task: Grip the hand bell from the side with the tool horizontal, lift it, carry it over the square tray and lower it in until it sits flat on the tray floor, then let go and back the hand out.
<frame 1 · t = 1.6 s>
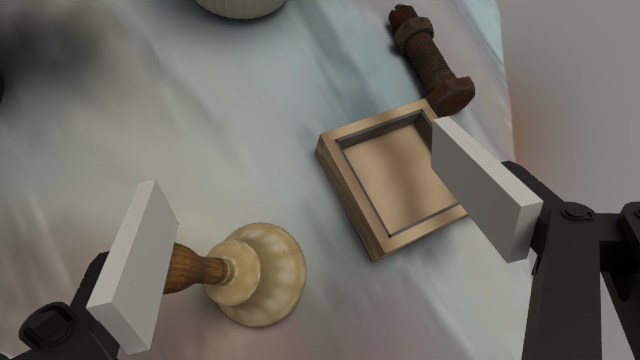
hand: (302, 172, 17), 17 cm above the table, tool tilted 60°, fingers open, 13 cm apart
bolt: (417, 69, 45), on the table
square tray: (394, 182, 37), on the table
hand bell: (258, 273, 30), point 1 cm above the table, touching gripper
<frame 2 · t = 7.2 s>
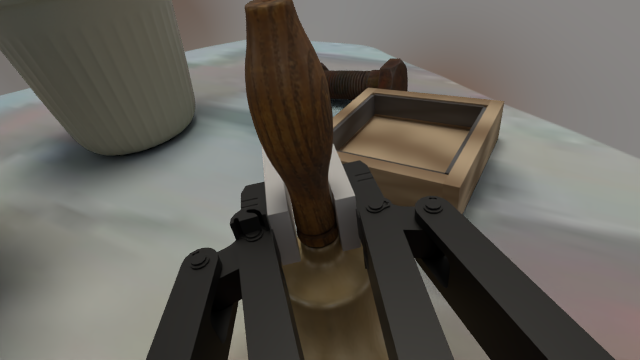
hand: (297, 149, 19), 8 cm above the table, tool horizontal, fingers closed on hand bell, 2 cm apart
bolt: (340, 104, 43), on the table
canister: (146, 134, 44), on the table
square tray: (402, 161, 31), on the table
hand bell: (338, 327, 19), on the table, touching gripper
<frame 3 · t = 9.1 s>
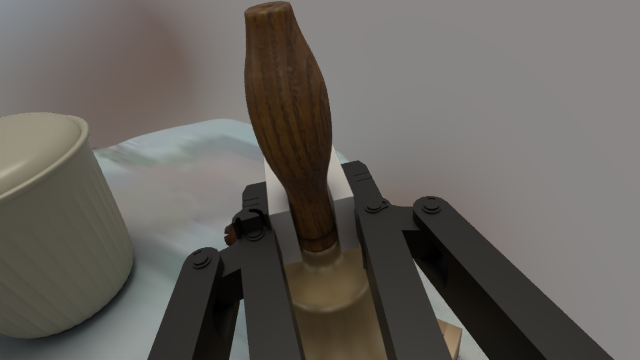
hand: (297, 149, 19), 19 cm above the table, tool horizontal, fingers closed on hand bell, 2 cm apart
canister: (78, 290, 39), on the table
hand bell: (337, 330, 19), point 11 cm above the table, touching gripper
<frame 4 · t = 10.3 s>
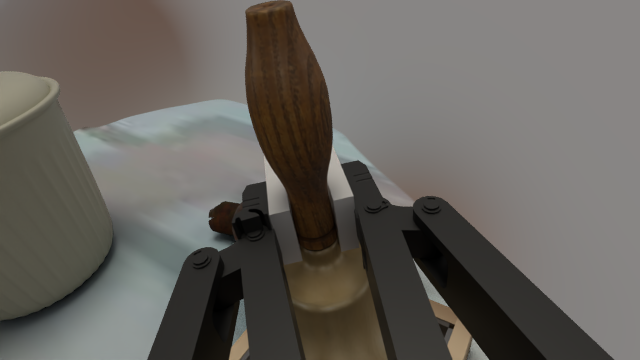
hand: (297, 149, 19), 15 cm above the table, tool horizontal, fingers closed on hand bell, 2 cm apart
bolt: (286, 245, 35), on the table
canister: (52, 270, 36), on the table
hand bell: (337, 330, 19), point 7 cm above the table, touching gripper
when the fingers open (10 cm above the table, at t = 11.4 s): hand bell drops 1 cm, resting on square tray.
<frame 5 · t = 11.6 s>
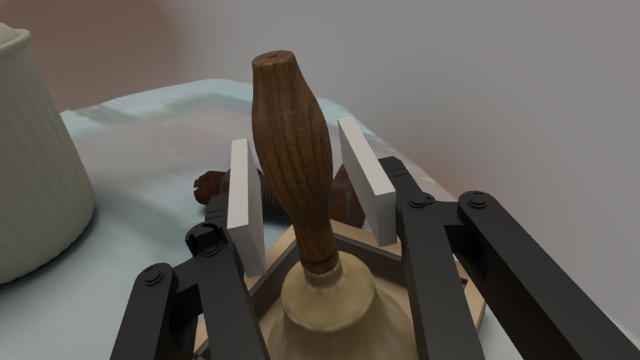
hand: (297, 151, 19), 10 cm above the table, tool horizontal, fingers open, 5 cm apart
bolt: (280, 215, 32), on the table
canister: (29, 243, 33), on the table
square tray: (341, 352, 20), on the table
hand bell: (340, 346, 20), point 1 cm above the table, touching square tray
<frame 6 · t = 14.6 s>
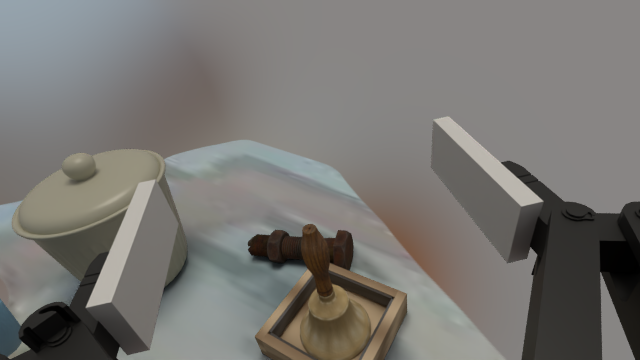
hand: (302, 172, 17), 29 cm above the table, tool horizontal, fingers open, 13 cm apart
bolt: (301, 259, 53), on the table
canister: (148, 272, 55), on the table
square tray: (335, 332, 42), on the table
hand bell: (335, 329, 41), point 1 cm above the table, touching square tray
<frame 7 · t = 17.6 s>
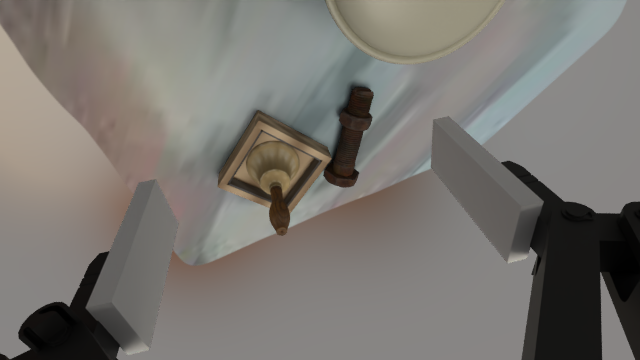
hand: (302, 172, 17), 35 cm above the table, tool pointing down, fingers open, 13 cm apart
bolt: (347, 130, 56), on the table
square tray: (273, 160, 57), on the table
hand bell: (273, 163, 56), point 1 cm above the table, touching square tray
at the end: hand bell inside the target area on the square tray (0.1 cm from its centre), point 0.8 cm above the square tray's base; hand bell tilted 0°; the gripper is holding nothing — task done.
